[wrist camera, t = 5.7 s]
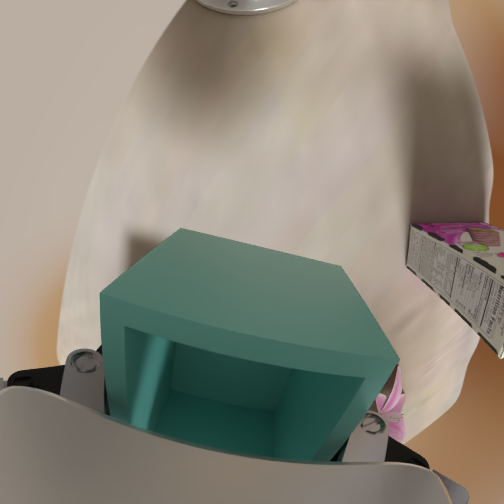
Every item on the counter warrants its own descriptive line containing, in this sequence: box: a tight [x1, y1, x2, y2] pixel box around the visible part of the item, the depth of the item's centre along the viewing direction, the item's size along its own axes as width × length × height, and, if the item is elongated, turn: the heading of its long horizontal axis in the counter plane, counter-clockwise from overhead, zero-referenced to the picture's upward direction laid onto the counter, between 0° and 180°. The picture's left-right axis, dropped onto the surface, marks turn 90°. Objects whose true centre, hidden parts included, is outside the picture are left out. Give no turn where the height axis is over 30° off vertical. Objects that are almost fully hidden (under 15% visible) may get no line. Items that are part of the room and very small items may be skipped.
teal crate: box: [100, 228, 400, 461], centre depth 9 cm, size 8×6×6 cm
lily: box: [375, 365, 406, 442], centre depth 29 cm, size 12×12×10 cm
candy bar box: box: [406, 222, 504, 359], centre depth 18 cm, size 11×5×16 cm, turn 94°
